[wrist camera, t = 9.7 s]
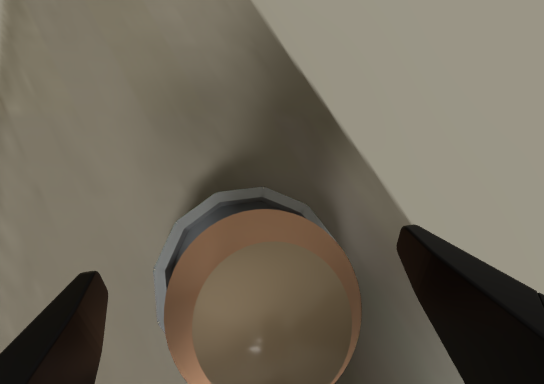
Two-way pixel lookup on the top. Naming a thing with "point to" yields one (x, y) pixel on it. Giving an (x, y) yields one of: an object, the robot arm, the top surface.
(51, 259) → the top surface
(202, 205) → the slate bowl
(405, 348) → the top surface
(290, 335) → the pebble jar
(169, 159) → the top surface
